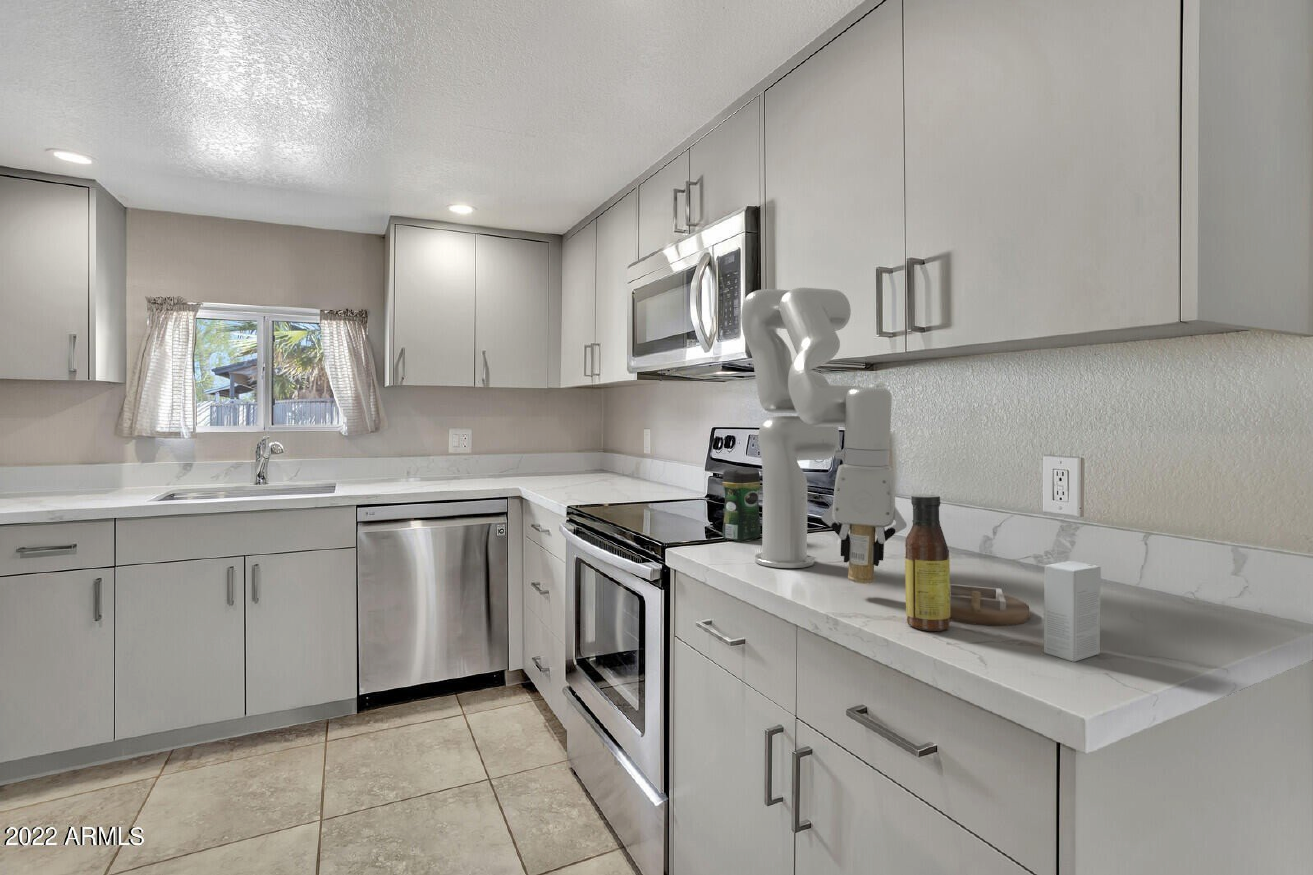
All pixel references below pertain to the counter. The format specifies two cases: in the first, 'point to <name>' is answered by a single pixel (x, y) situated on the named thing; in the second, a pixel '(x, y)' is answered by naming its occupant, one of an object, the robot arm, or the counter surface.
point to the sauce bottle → (927, 567)
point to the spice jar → (861, 553)
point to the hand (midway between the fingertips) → (861, 561)
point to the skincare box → (1072, 610)
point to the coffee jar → (741, 504)
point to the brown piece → (985, 606)
